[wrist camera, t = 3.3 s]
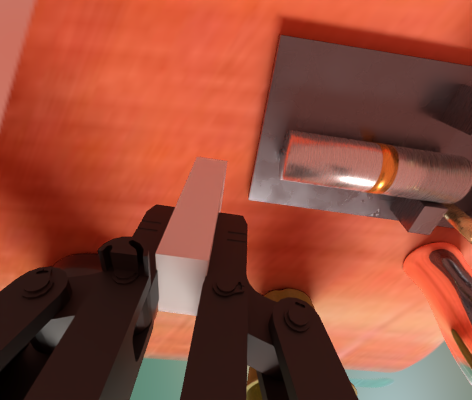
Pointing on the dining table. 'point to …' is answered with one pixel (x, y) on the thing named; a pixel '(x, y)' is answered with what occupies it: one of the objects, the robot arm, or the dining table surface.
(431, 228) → the steam engine
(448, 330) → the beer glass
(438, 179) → the tube
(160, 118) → the dining table surface
